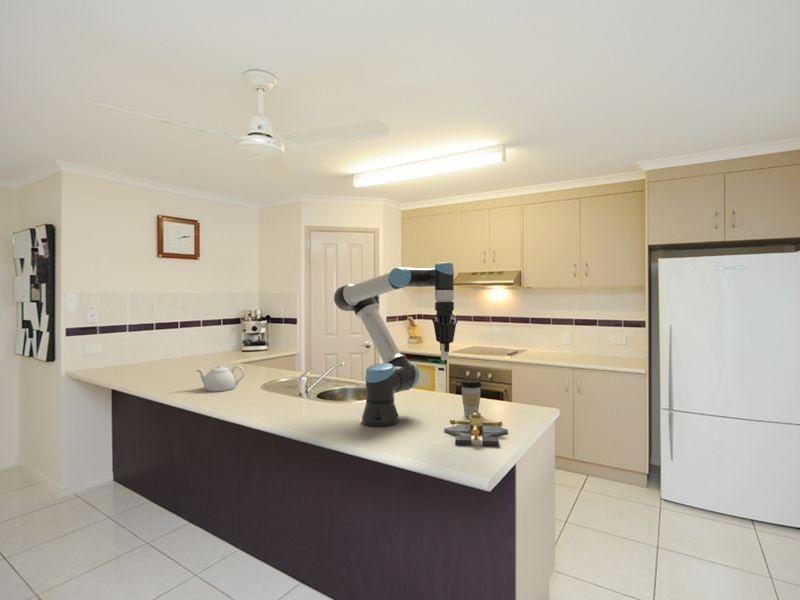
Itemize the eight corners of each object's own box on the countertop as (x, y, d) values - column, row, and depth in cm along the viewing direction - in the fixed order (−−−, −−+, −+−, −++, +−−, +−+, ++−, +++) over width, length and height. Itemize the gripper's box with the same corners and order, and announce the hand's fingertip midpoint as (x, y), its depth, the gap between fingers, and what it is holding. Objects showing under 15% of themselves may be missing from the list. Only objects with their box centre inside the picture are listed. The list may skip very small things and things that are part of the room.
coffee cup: (467, 419, 187) (467, 384, 186) (456, 414, 195) (455, 380, 195) (486, 417, 190) (486, 382, 190) (474, 411, 199) (474, 378, 199)
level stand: (477, 453, 148) (477, 447, 148) (430, 435, 167) (430, 429, 167) (524, 438, 163) (524, 432, 163) (476, 422, 182) (476, 418, 182)
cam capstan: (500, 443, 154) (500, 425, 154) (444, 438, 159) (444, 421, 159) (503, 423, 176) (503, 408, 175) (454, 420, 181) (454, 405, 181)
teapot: (216, 394, 237) (215, 368, 236) (196, 390, 247) (195, 365, 246) (245, 387, 252) (245, 363, 252) (225, 384, 262) (225, 361, 262)
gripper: (462, 301, 176) (463, 360, 176) (440, 300, 186) (440, 357, 187) (448, 301, 171) (449, 362, 172) (426, 301, 181) (427, 358, 182)
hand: (444, 359), depth 179 cm, fingers closed
